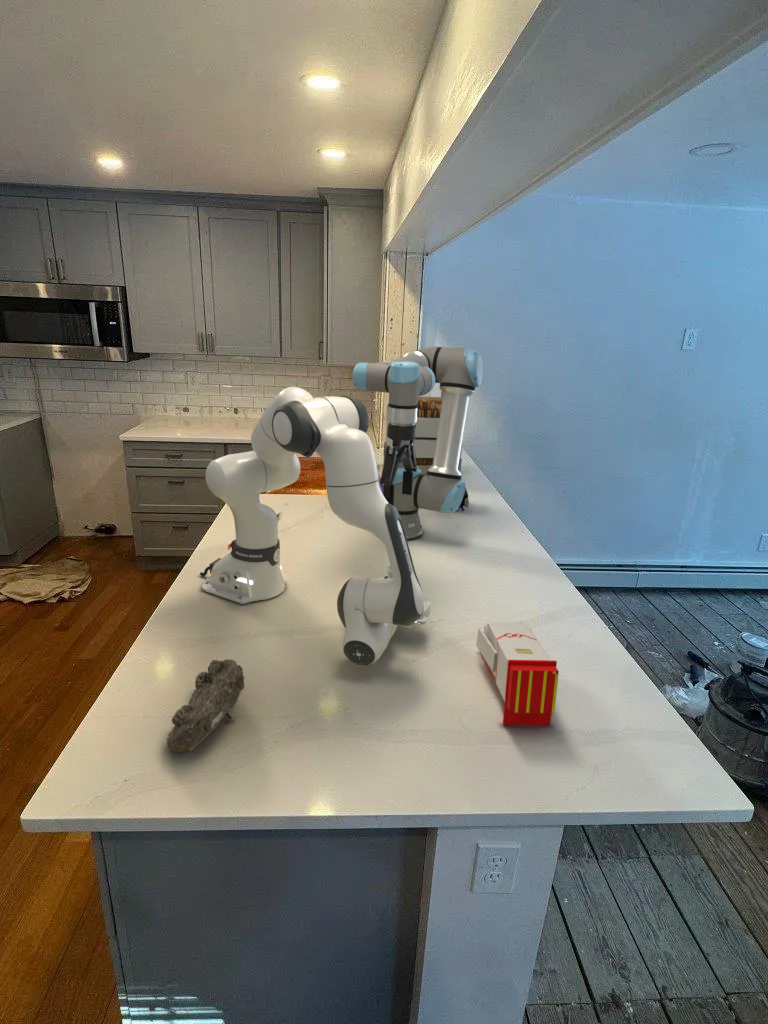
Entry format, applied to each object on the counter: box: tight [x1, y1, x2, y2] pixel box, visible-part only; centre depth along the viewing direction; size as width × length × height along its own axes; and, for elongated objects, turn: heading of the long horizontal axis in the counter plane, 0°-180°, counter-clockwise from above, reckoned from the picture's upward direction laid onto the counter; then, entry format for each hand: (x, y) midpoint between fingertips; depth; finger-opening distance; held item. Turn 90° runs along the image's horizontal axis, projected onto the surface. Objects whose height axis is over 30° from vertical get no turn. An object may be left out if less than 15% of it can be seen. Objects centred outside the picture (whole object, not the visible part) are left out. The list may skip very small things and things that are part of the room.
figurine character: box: [458, 486, 470, 512], centre depth 229 cm, size 7×8×15 cm
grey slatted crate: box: [383, 391, 464, 474], centre depth 268 cm, size 34×33×41 cm
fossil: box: [166, 658, 245, 754], centre depth 106 cm, size 22×10×15 cm
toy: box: [476, 621, 560, 727], centre depth 120 cm, size 12×13×30 cm
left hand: (396, 592), depth 146 cm, fingers open, 8 cm apart
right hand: (397, 500), depth 154 cm, fingers open, 13 cm apart
